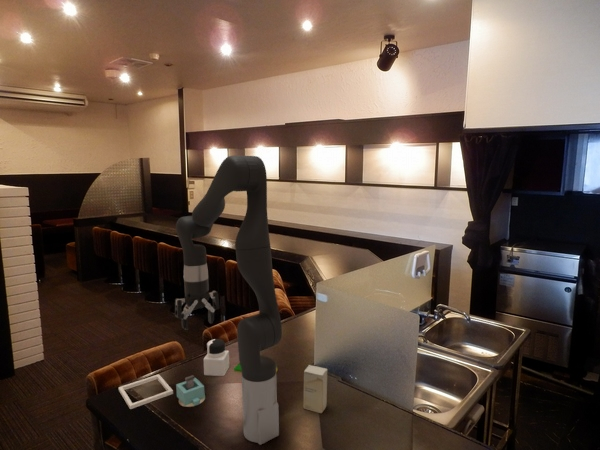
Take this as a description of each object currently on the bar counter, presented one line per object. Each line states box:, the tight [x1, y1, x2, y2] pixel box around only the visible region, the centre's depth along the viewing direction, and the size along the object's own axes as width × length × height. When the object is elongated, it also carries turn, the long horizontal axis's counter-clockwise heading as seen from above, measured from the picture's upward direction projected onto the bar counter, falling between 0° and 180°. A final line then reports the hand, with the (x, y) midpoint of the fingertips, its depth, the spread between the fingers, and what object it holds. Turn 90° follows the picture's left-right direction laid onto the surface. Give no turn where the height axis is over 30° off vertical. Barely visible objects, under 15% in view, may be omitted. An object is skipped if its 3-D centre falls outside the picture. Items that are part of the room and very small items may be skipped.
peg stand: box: [178, 374, 206, 408], centre depth 122 cm, size 8×8×8 cm
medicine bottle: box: [202, 338, 230, 377], centre depth 139 cm, size 7×7×12 cm
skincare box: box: [302, 364, 328, 414], centre depth 118 cm, size 6×4×12 cm
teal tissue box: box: [175, 377, 206, 407], centre depth 122 cm, size 8×6×4 cm
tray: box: [118, 374, 174, 410], centre depth 126 cm, size 13×13×2 cm
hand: (198, 326), depth 128 cm, fingers open, 8 cm apart
